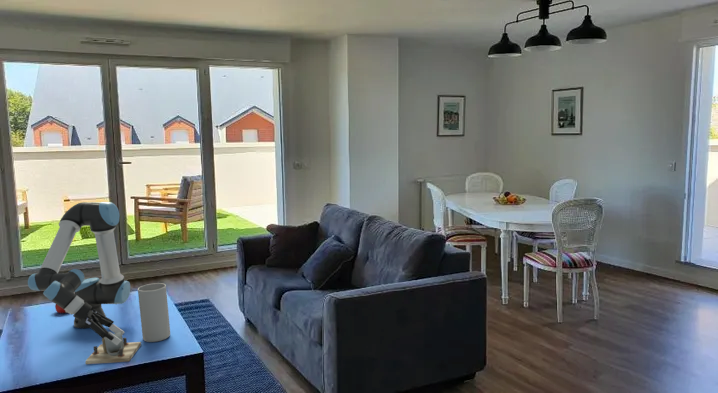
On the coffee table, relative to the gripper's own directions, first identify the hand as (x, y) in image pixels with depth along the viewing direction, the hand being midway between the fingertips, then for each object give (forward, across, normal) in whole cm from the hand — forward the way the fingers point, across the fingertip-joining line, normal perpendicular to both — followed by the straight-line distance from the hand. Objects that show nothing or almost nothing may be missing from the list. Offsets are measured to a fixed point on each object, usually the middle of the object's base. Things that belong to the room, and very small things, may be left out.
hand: (120, 338), depth 242 cm
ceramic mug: (+2, +1, -6) cm, 6 cm away
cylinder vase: (+15, -14, +5) cm, 21 cm away
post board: (+3, 0, -7) cm, 7 cm away
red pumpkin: (-22, -72, -32) cm, 82 cm away
